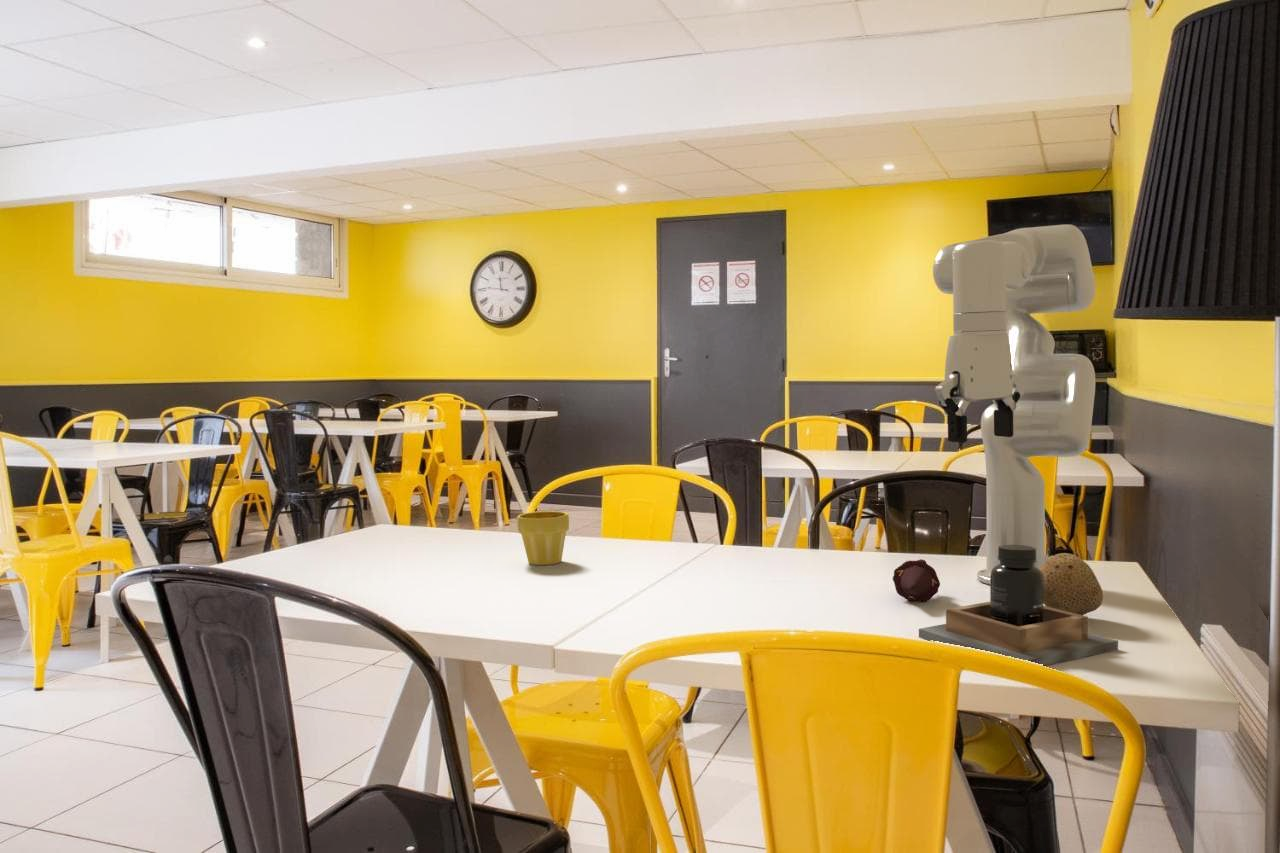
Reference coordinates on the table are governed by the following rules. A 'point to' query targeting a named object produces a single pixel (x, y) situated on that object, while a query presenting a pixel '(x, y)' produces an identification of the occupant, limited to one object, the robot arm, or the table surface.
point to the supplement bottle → (1016, 587)
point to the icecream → (916, 581)
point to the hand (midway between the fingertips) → (980, 439)
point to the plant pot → (543, 535)
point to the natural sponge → (1070, 585)
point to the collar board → (1021, 635)
